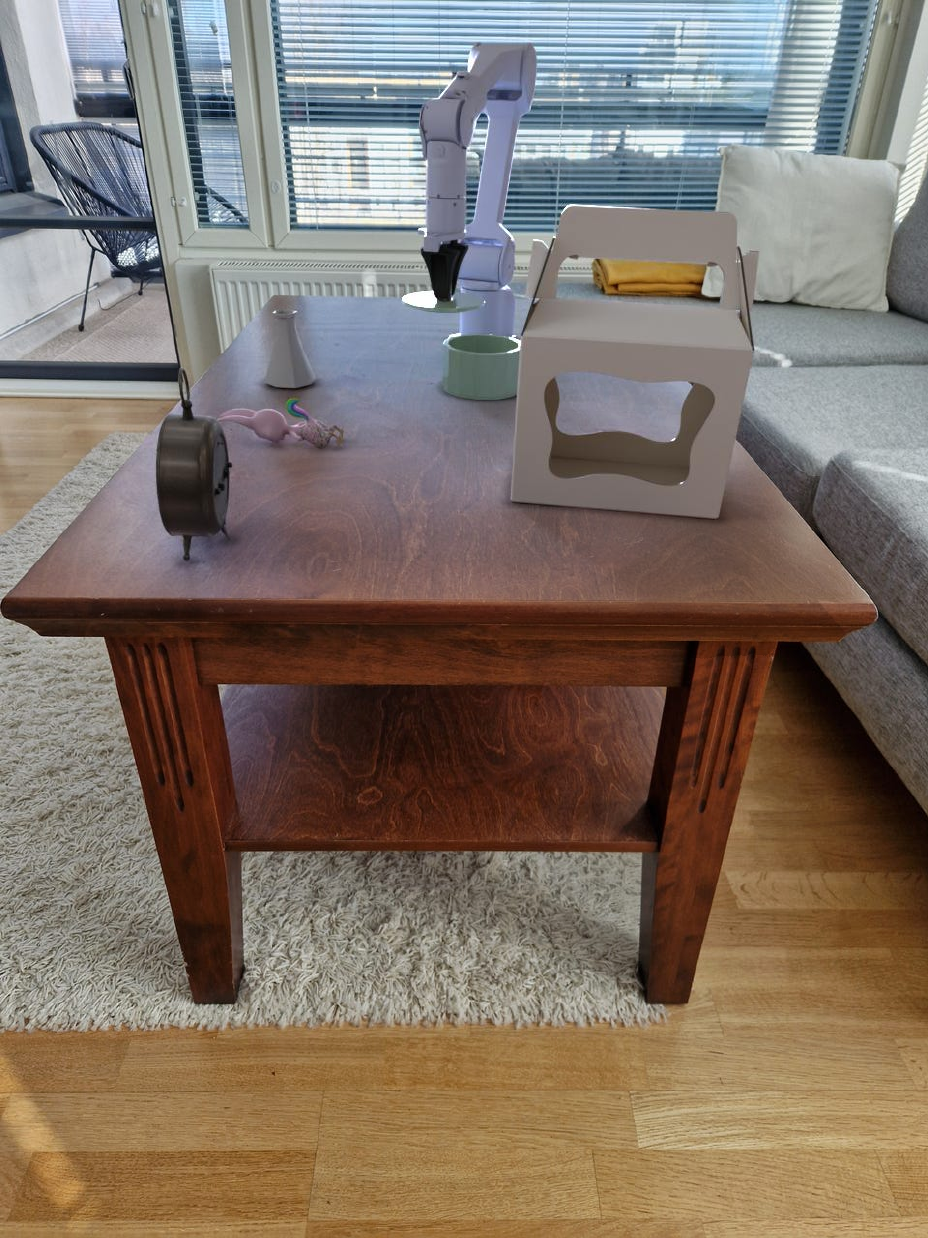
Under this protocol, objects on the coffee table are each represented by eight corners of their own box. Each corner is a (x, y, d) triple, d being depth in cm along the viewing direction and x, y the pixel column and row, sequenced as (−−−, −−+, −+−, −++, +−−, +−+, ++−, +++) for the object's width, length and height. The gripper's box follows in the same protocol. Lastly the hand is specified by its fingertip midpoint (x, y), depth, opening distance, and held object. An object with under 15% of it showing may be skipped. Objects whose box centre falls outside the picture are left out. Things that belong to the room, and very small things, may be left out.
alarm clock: (189, 515, 83) (162, 351, 74) (244, 514, 83) (223, 351, 75) (165, 568, 74) (131, 387, 65) (227, 566, 74) (201, 388, 66)
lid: (445, 295, 134) (445, 265, 132) (501, 308, 127) (503, 277, 124) (385, 304, 127) (384, 273, 124) (441, 319, 119) (441, 286, 117)
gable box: (707, 471, 97) (759, 206, 82) (720, 520, 86) (784, 223, 70) (518, 457, 99) (535, 196, 84) (507, 502, 88) (525, 211, 73)
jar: (481, 372, 129) (482, 329, 125) (537, 389, 122) (540, 345, 119) (426, 386, 122) (426, 341, 118) (482, 405, 115) (484, 359, 112)
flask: (324, 379, 123) (320, 309, 118) (296, 392, 118) (291, 319, 112) (284, 372, 126) (278, 303, 120) (255, 384, 120) (247, 313, 115)
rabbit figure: (343, 445, 104) (224, 423, 103) (349, 400, 101) (226, 376, 100) (336, 464, 99) (210, 440, 98) (342, 416, 96) (211, 391, 94)
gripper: (434, 190, 125) (433, 285, 133) (402, 199, 113) (403, 303, 121) (479, 193, 124) (475, 289, 131) (451, 202, 112) (449, 307, 119)
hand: (444, 296), depth 126 cm, fingers closed on lid, 2 cm apart
